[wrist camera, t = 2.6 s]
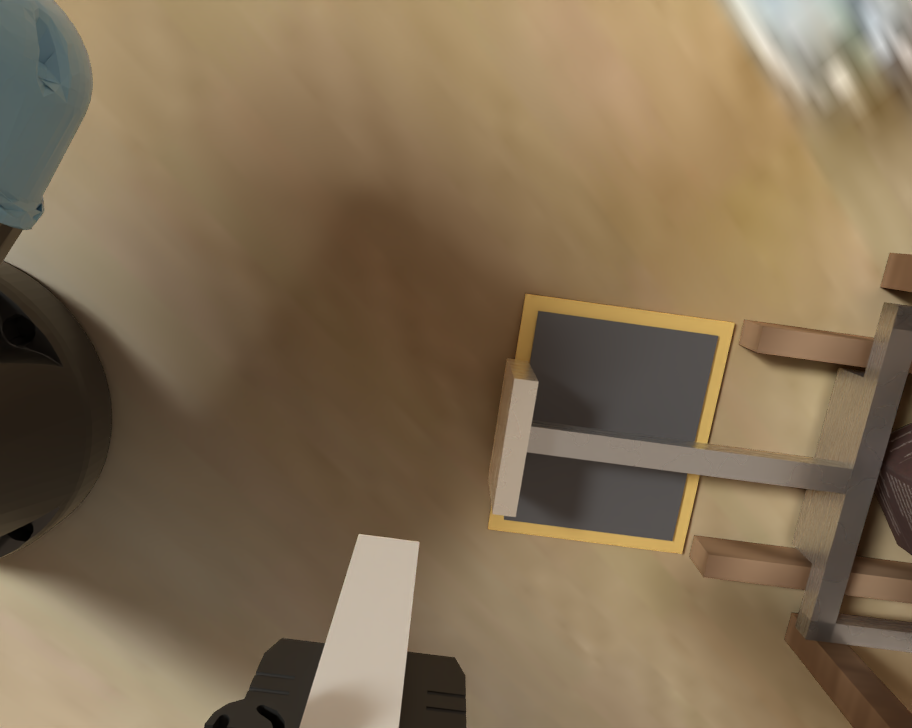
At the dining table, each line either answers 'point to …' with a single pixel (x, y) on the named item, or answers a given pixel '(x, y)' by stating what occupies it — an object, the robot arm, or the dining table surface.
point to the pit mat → (615, 418)
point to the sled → (755, 471)
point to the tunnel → (833, 665)
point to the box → (897, 486)
